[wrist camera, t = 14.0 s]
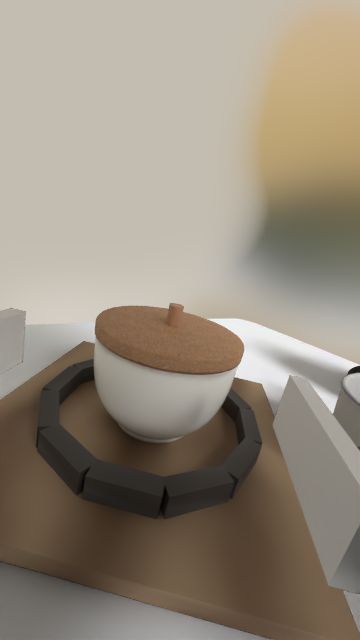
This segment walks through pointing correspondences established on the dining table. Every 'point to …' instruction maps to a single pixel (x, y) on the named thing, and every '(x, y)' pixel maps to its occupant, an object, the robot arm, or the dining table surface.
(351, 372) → the milk frother
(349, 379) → the teacup
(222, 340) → the lidded jar
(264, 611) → the locating board
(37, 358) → the dining table surface
